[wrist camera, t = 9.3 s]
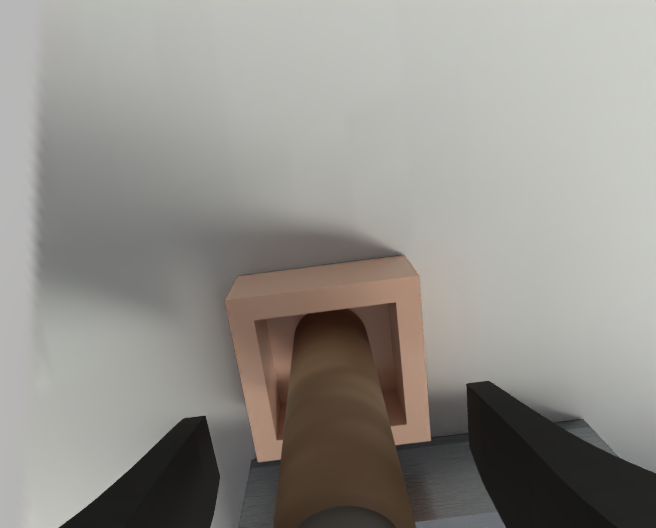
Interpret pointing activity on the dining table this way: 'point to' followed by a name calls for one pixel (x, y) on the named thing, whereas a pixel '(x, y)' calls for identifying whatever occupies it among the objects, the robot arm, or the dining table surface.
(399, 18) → the dining table surface
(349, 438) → the brown wooden cylinder
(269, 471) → the panel
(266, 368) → the holder
